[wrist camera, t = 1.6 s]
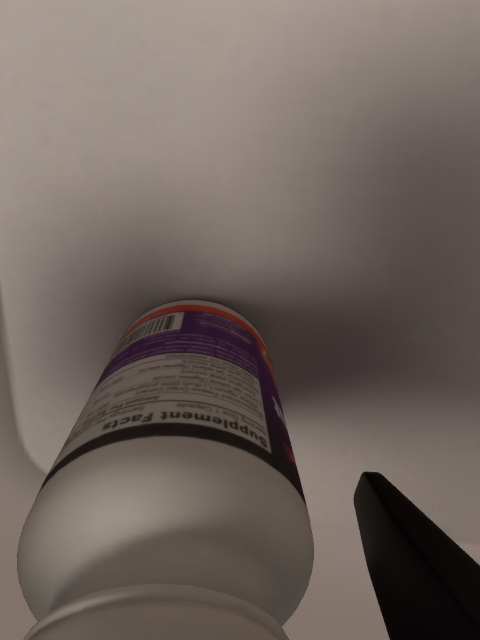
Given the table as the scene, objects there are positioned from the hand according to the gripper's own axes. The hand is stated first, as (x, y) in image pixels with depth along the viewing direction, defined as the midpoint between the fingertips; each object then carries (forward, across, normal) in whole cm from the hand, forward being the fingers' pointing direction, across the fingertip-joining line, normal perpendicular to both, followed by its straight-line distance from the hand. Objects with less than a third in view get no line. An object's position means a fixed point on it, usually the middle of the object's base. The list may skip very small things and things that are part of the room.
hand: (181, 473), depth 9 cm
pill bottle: (+5, 0, 0) cm, 5 cm away
